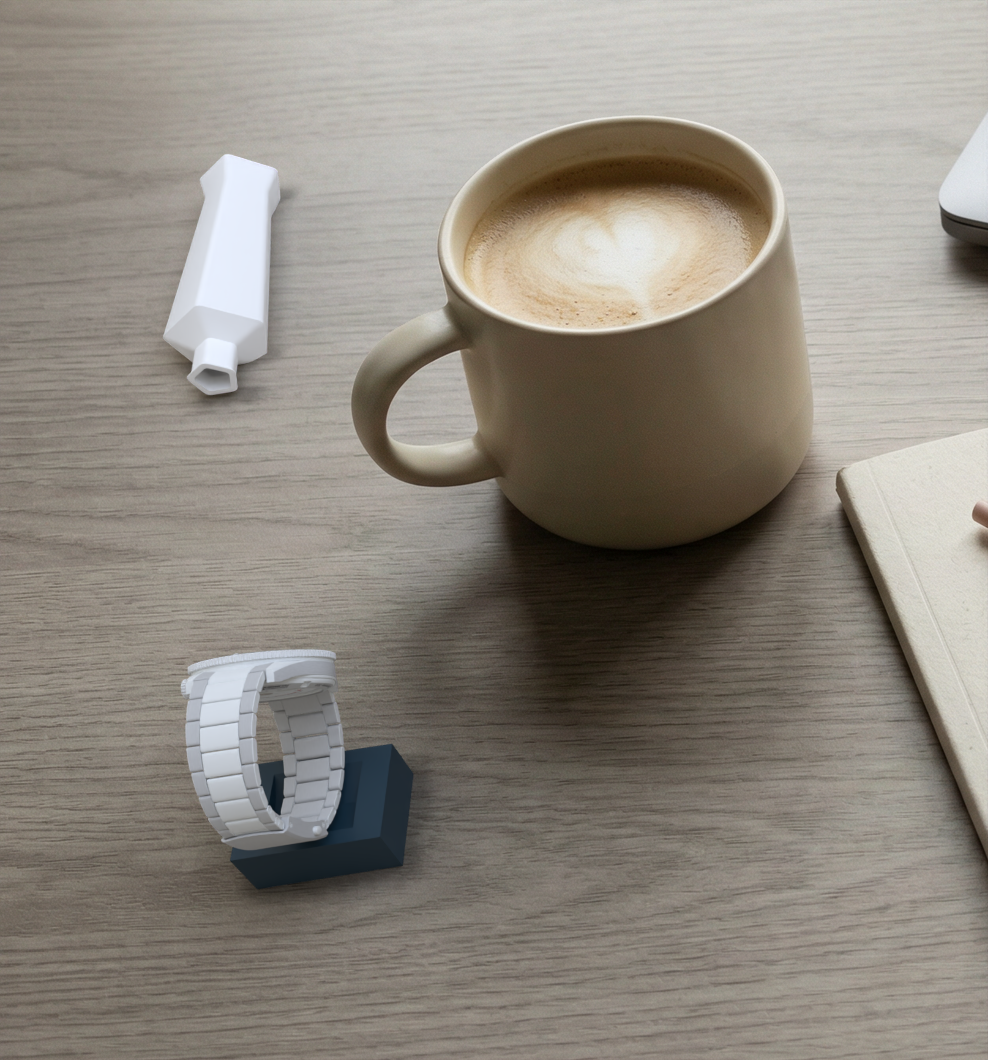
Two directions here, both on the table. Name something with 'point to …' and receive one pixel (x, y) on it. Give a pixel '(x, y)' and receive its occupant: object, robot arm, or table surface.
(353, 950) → the table surface
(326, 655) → the watch
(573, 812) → the table surface
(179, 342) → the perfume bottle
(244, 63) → the table surface
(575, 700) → the table surface
